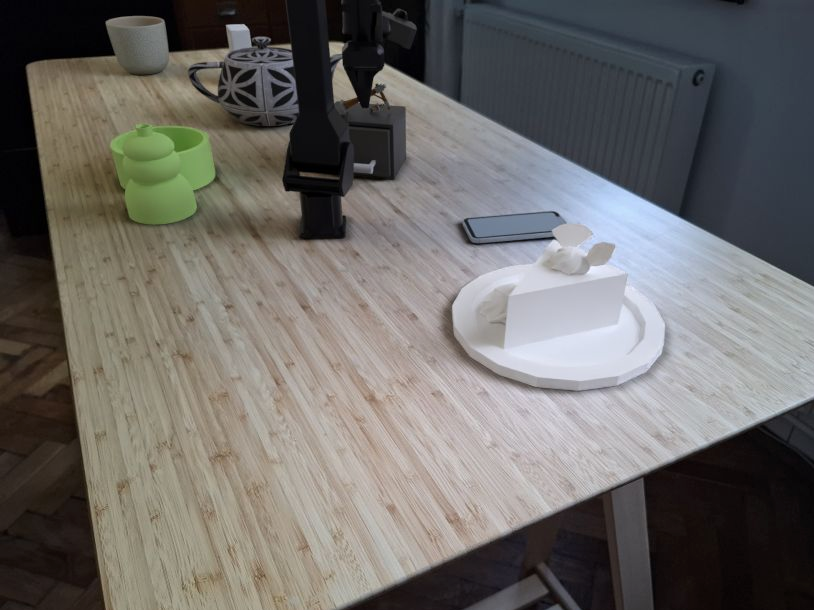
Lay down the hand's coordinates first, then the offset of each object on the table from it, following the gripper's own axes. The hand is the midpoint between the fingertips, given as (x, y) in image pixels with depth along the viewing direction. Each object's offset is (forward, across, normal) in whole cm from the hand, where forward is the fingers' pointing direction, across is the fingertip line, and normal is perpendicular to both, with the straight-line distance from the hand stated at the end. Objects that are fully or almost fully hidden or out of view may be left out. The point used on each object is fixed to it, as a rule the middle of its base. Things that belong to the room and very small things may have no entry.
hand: (364, 99), depth 113 cm
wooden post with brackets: (+2, 0, 0) cm, 2 cm away
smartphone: (+11, -27, -21) cm, 36 cm away
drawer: (+10, -3, +1) cm, 11 cm away
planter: (+11, +62, +51) cm, 81 cm away
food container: (+11, -10, +32) cm, 35 cm away
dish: (+12, -52, -21) cm, 57 cm away
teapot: (+11, +27, +18) cm, 35 cm away
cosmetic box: (+11, +52, +27) cm, 60 cm away
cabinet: (+11, 0, 0) cm, 11 cm away
